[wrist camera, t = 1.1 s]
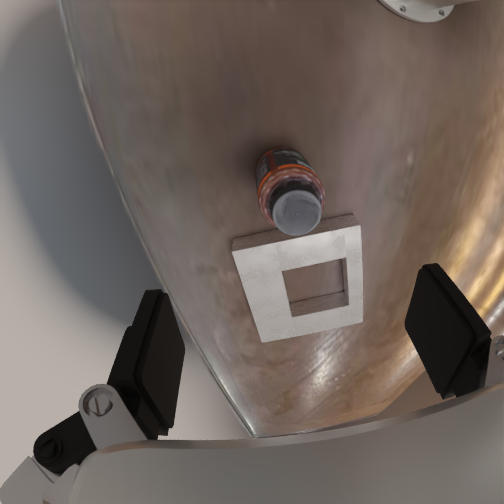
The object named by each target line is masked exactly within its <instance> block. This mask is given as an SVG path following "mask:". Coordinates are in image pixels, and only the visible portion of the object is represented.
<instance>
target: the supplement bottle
mask: <svg viewBox="0 0 504 504" xmlns="http://www.w3.org/2000/svg"><path fill="white" fill-rule="evenodd" d="M255 177H256V186H257V195H258V203H259V207H260V210H261V212H262V215H263V216H264V218H265V219H266V220H267V221H268V222H269V223H270V224H271V225H273V226H275V227H277V228H278V229H279V230H280V231H281V232H283V233H285V234H288V235H292V236H299V235H304V234H307V233H309V232H310V231H312V230H313V229H314V228H315V227H316V226H317V225H318V223H319V222H320V219H321V215H322V210H323V208H324V204H325V192H324V188H323V185H322V183H321V181H320V180H319V178H318V177H317V175H316V174H315V172H314V171H313V169H312V168H311V166H310V165H309V164H308V162H307V161H306V159H305V158H304V157H303V156H302V155H301V154H300V153H299V152H297V151H296V150H294V149H291V148H287V147H278V148H274V149H272V150H269V151H268V152H266V153H265V154H264V155H263V156H262V157H261V158H260V160H259V161H258V164H257V167H256V174H255Z"/></svg>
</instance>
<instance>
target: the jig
mask: <svg viewBox="0 0 504 504" xmlns="http://www.w3.org/2000/svg"><path fill="white" fill-rule="evenodd" d="M232 254H233V257H234V260H235V263H236V266H237V269H238V272H239V275H240V278H241V281H242V284H243V287H244V290H245V293H246V296H247V299H248V302H249V305H250V308H251V311H252V314H253V317H254V320H255V323H256V326H257V329H258V332H259V335H260V338H261V341H262V342H268V341H274V340H279V339H285V338H290V337H296V336H301V335H306V334H311V333H316V332H320V331H325V330H330V329H334V328H339V327H343V326H347V325H352V324H356V323H360V322H363V273H362V247H361V229H360V224H359V222H358V221H357V219H356V218H355V216H354V215H353V214H349V215H344V216H339V217H334V218H329V219H324V220H320V222H319V223H318V225H317V226H316V227H315V228H314V229H313V230H312V231H310V232H309V233H307V234H304V235H299V236H292V235H288V234H285V233H283V232H281V231H280V230H279V229H276V230H272V231H267V232H262V233H258V234H253V235H248V236H244V237H239V238H234V239H233V245H232ZM341 258H342V270H343V284H344V292H339V293H335V294H330V295H325V296H321V297H316V298H311V299H307V300H302V301H297V302H292V303H290V302H289V298H288V293H287V289H286V284H285V280H284V275H283V271H284V270H289V269H293V268H298V267H303V266H308V265H313V264H317V263H322V262H327V261H331V260H336V259H341Z"/></svg>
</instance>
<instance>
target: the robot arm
mask: <svg viewBox="0 0 504 504" xmlns="http://www.w3.org/2000/svg"><path fill="white" fill-rule="evenodd" d="M378 1H380V2H381V3H382V4H383V5H384V6H385V7H386V8H388V9H389V10H391V11H392V12H394V13H395V14H397V15H399V16H401V17H403V18H405V19H408V20H411V21H414V22H419V23H432V22H437V21H440V20H443V19H444V18H446V17H447V16H448V15H449V14H450V13H451V11H452V10H453V7H454V5H457V4H462V3H468V2H474V1H483V0H378ZM399 8H400V9H401V10H400V9H399ZM405 329H406V331H407V333H408V335H409V337H410V339H411V340H412V342H413V344H414V346H415V348H416V350H417V352H418V354H419V356H420V358H421V360H422V362H423V365H424V367H425V369H426V371H427V373H428V375H429V377H430V379H431V381H432V384H433V386H434V388H435V390H436V392H437V393H440V394H441V397H442V399H446V398H449V397H452V396H454V395H456V398H454V399H451V400H448V401H445V402H442V403H439V404H437V405H433V406H430V407H427V408H424V409H420V410H417V411H414V412H410V413H407V414H403V415H399V416H395V417H391V418H388V419H384V420H379V421H375V422H371V423H366V424H361V425H356V426H351V427H346V428H341V429H335V430H329V431H323V432H316V433H308V434H301V435H292V436H283V437H272V438H258V439H239V440H157V439H158V435H163V436H168V430H169V428H172V427H173V425H174V419H175V412H176V405H177V398H178V391H179V385H180V379H181V372H182V366H183V361H184V354H185V347H184V342H183V339H182V336H181V333H180V330H179V327H178V324H177V321H176V318H175V315H174V312H173V309H172V305H171V302H170V299H169V296H168V294H167V293H163V291H162V290H161V289H156V290H146V291H145V293H144V295H143V298H142V300H141V303H140V305H139V308H138V311H137V313H136V316H135V318H134V321H133V324H132V326H129V327H127V329H126V331H125V333H124V336H123V339H122V342H121V344H120V347H119V350H118V353H117V355H116V358H115V361H114V364H113V367H112V369H111V372H110V375H109V378H108V381H107V384H97V385H94V386H91V387H90V388H88V389H87V390H86V391H85V392H84V393H83V394H82V395H81V398H80V400H79V411H78V412H77V413H75V414H73V415H72V416H70V417H69V418H67V419H65V420H64V421H62V422H60V423H59V424H57V425H56V426H54V427H52V428H51V429H49V430H47V431H46V432H44V433H43V434H41V435H40V436H39V437H38V438H37V440H36V441H35V444H34V449H33V453H34V456H33V457H32V458H31V457H29V456H28V457H27V458H26V459H25V460H24V461H23V462H22V464H21V465H20V466H19V467H18V468H17V469H16V470H15V471H14V472H13V474H12V475H11V476H10V477H9V478H8V479H7V480H6V481H5V482H4V484H3V485H2V487H1V488H0V500H1V502H2V504H504V336H503V335H501V336H497V337H494V339H493V340H492V339H491V338H490V335H491V331H490V330H489V328H488V327H487V326H486V324H485V323H484V321H483V320H482V319H481V317H480V316H479V315H478V313H477V312H476V310H475V309H474V308H473V306H472V305H471V304H470V303H469V301H468V300H467V299H466V297H465V296H464V295H463V293H462V292H461V291H460V290H459V288H458V287H457V286H456V285H455V283H454V282H453V281H452V280H451V279H450V277H449V276H448V275H447V274H446V273H445V271H444V270H443V269H442V268H441V267H440V265H439V264H437V263H433V264H425V265H423V266H422V269H420V270H419V271H418V275H417V279H416V283H415V287H414V291H413V294H412V298H411V301H410V305H409V308H408V312H407V315H406V318H405Z"/></svg>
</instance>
